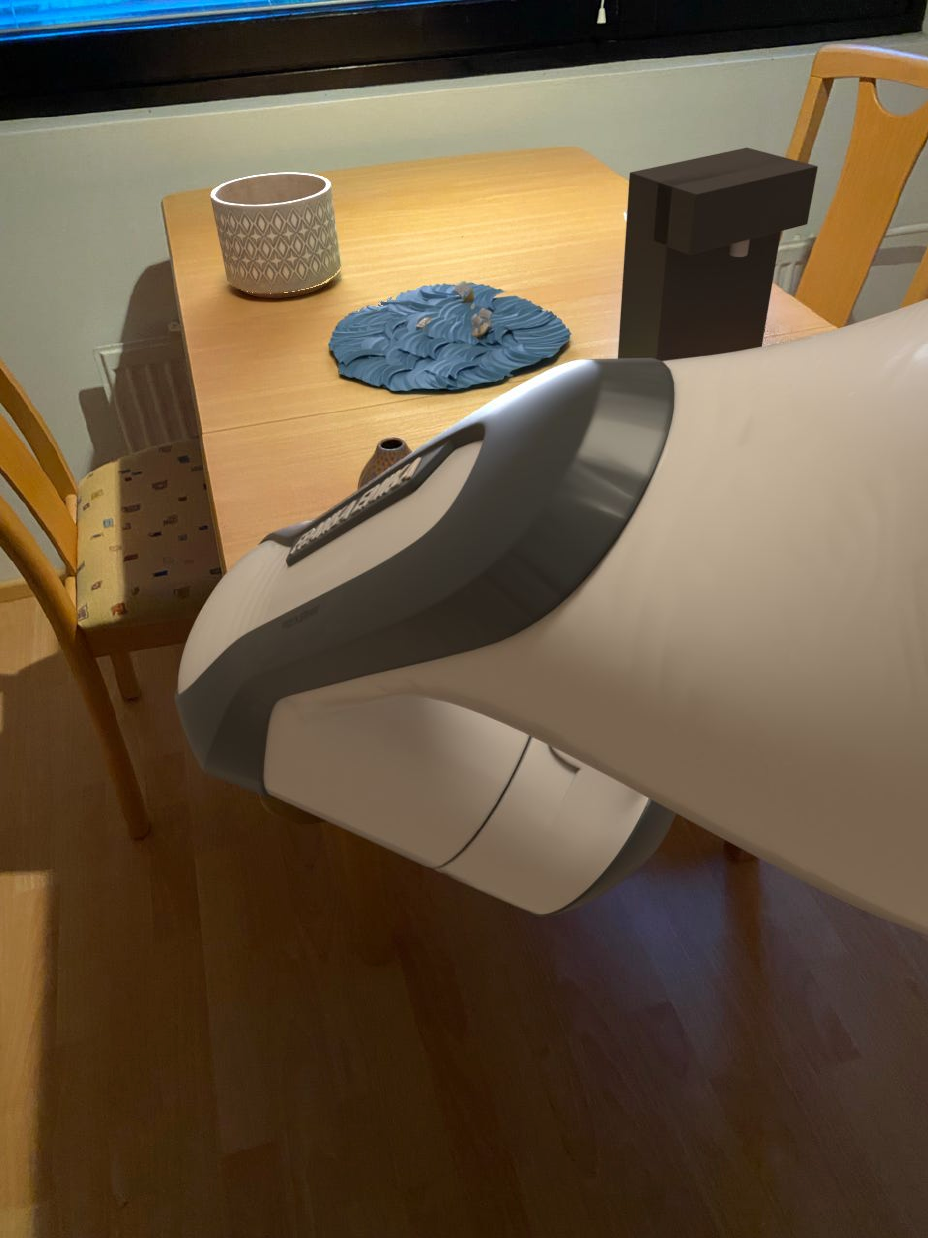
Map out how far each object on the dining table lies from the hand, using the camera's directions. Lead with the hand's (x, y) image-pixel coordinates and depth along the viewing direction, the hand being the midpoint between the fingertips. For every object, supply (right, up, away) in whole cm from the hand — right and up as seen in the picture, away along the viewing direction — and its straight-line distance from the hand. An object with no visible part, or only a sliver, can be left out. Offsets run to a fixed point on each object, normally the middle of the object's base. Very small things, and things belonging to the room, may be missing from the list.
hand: (440, 643), depth 58 cm
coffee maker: (+28, +21, +36) cm, 50 cm away
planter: (-24, +50, +77) cm, 95 cm away
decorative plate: (0, +36, +57) cm, 67 cm away
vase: (-4, +9, +25) cm, 27 cm away
